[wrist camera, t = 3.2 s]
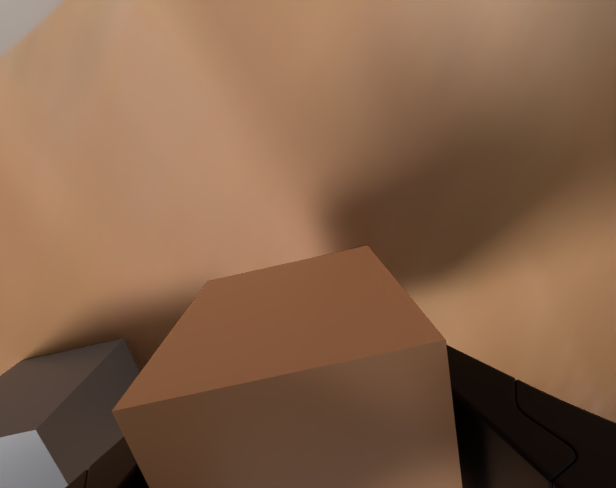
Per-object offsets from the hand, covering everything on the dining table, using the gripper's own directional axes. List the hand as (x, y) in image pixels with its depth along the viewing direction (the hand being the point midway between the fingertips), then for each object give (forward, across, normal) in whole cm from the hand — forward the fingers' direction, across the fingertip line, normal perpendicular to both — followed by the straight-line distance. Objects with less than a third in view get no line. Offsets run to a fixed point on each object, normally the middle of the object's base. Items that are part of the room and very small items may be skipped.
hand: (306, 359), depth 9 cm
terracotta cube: (+1, 0, 0) cm, 1 cm away
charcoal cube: (+5, +11, +3) cm, 13 cm away
